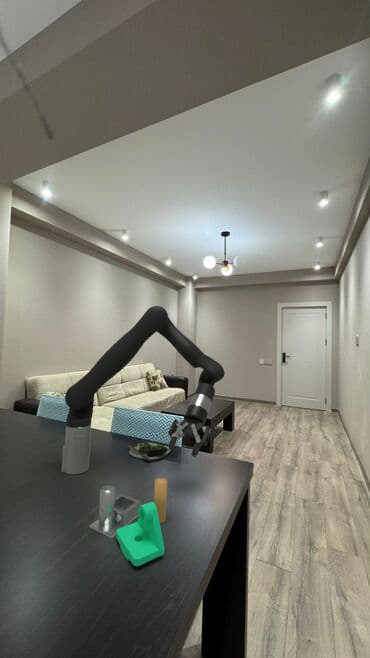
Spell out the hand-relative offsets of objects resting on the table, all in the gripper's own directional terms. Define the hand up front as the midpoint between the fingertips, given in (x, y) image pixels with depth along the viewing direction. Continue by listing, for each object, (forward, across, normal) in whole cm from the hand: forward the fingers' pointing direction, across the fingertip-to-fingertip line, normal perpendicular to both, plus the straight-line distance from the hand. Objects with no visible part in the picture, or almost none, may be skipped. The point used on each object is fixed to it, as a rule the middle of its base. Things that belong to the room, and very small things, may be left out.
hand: (181, 452), depth 94 cm
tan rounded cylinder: (+19, 0, +2) cm, 19 cm away
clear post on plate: (+24, -10, -2) cm, 26 cm away
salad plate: (-6, -29, +29) cm, 41 cm away
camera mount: (+28, +2, -6) cm, 29 cm away
